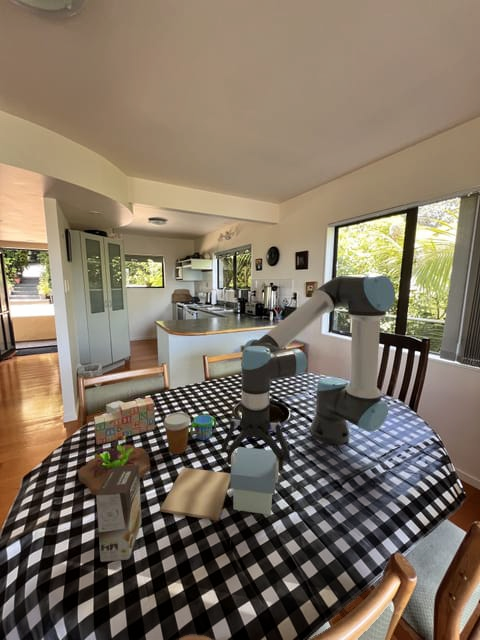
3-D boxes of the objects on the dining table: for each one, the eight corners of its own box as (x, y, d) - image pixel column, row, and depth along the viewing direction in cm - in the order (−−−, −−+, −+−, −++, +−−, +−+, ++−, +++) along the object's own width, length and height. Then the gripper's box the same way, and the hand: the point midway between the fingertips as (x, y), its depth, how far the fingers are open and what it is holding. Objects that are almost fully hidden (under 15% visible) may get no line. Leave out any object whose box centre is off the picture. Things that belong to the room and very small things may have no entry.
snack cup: (212, 428, 110) (211, 411, 109) (221, 437, 103) (221, 419, 102) (186, 436, 103) (186, 419, 102) (194, 446, 97) (193, 428, 96)
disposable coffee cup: (177, 460, 89) (176, 428, 88) (158, 451, 94) (157, 420, 93) (196, 446, 97) (195, 416, 96) (178, 438, 102) (177, 409, 101)
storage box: (272, 486, 78) (273, 461, 77) (270, 514, 68) (271, 487, 67) (239, 481, 80) (239, 457, 79) (233, 509, 70) (233, 482, 69)
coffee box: (130, 560, 57) (126, 494, 55) (99, 562, 57) (94, 495, 54) (142, 522, 66) (139, 464, 64) (116, 524, 66) (112, 465, 63)
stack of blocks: (96, 447, 96) (94, 416, 95) (95, 439, 102) (93, 409, 100) (155, 430, 108) (154, 402, 106) (151, 423, 113) (150, 396, 111)
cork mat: (231, 475, 82) (231, 473, 82) (218, 520, 67) (218, 517, 67) (183, 469, 85) (183, 467, 85) (160, 511, 69) (160, 508, 69)
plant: (162, 467, 86) (160, 436, 85) (101, 506, 71) (98, 469, 70) (130, 444, 99) (128, 417, 97) (72, 473, 83) (69, 441, 82)
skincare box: (113, 424, 112) (112, 408, 111) (106, 420, 116) (105, 404, 115) (127, 419, 117) (126, 403, 116) (120, 414, 120) (119, 399, 119)
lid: (276, 463, 78) (276, 450, 77) (274, 494, 67) (275, 479, 66) (238, 459, 80) (238, 446, 79) (230, 488, 69) (230, 474, 68)
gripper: (300, 400, 72) (297, 472, 75) (215, 394, 76) (216, 463, 79) (301, 414, 65) (299, 492, 68) (208, 406, 69) (210, 481, 72)
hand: (254, 476), depth 73 cm, fingers closed on lid, 12 cm apart
